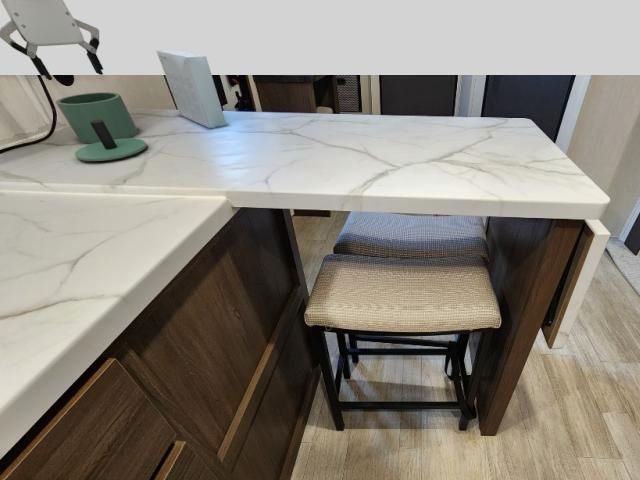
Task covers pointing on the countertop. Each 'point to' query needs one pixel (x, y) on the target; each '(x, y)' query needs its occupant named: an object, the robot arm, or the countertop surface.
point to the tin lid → (108, 145)
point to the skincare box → (192, 87)
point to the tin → (97, 115)
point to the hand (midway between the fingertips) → (75, 76)
